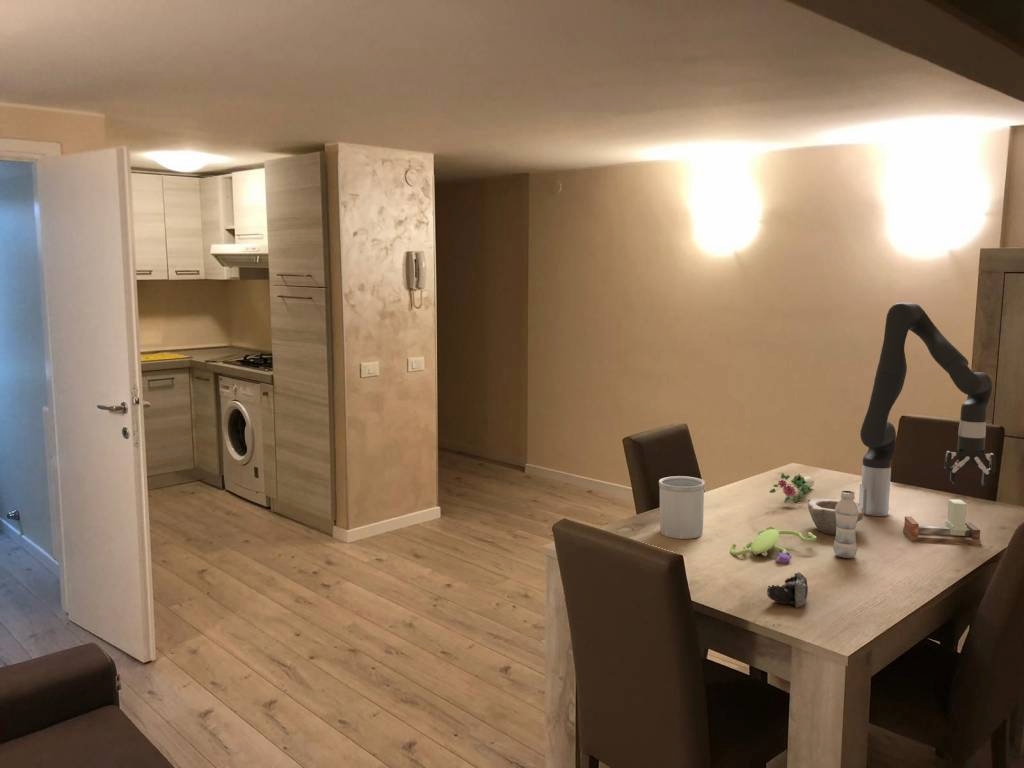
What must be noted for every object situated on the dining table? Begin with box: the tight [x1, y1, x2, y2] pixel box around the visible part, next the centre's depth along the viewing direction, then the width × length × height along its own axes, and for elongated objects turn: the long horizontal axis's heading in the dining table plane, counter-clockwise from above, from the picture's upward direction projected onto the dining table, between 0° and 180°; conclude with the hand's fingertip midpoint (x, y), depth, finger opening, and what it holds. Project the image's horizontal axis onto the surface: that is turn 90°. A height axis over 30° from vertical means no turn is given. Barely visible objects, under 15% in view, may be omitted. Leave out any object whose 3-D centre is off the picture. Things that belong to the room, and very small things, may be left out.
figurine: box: [730, 526, 817, 564], centre depth 247 cm, size 18×27×6 cm
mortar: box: [807, 497, 865, 536], centre depth 266 cm, size 17×17×9 cm
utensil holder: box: [658, 475, 706, 540], centre depth 264 cm, size 15×15×18 cm
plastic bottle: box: [833, 490, 859, 559], centre depth 240 cm, size 6×7×20 cm
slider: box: [945, 498, 967, 536], centre depth 257 cm, size 4×7×10 cm, turn 169°
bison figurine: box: [766, 571, 809, 608], centre depth 209 cm, size 12×7×10 cm
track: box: [902, 516, 982, 546], centre depth 258 cm, size 20×10×6 cm, turn 79°
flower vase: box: [769, 472, 815, 503], centre depth 306 cm, size 12×12×35 cm
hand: (968, 484), depth 259 cm, fingers open, 8 cm apart
